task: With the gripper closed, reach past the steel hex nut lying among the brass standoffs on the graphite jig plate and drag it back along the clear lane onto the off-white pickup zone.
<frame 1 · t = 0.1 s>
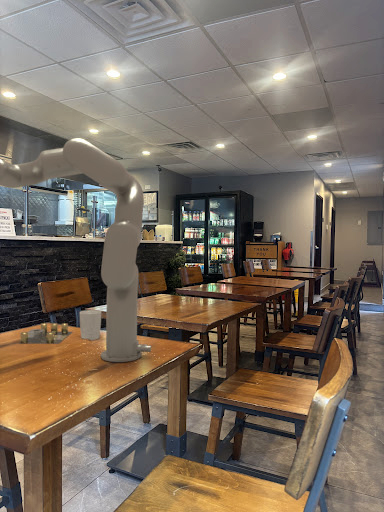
white cup: (90, 338, 139), on the table
steel nut: (36, 337, 137), point 1 cm above the table, touching jig plate
jig plate: (47, 338, 137), on the table
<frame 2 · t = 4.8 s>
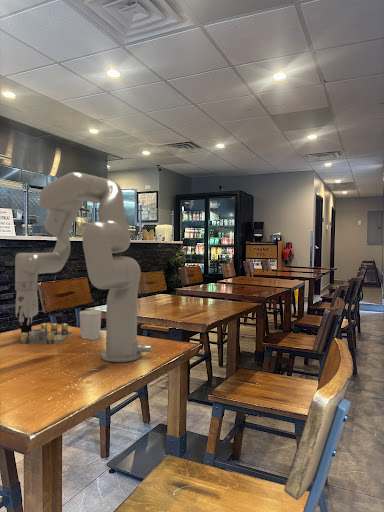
hand: (26, 335, 137), 1 cm above the table, fingers closed
steel nut: (37, 337, 137), point 1 cm above the table, touching gripper, jig plate
everything else where it was.
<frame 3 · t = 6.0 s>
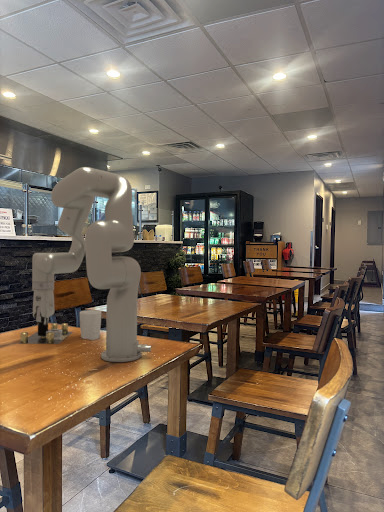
hand: (43, 335, 137), 1 cm above the table, fingers closed
steel nut: (54, 337, 138), point 1 cm above the table, touching gripper
everything else where it was.
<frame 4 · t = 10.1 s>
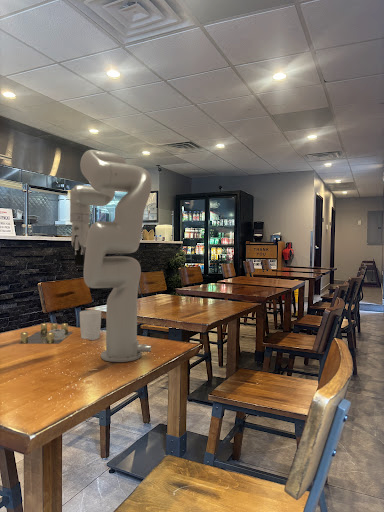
hand: (79, 264, 149), 27 cm above the table, fingers closed
steel nut: (57, 337, 137), point 1 cm above the table, touching jig plate
everything else where it was.
at the end: steel nut inside the target area on the jig plate (0.4 cm from its centre), point 0.6 cm above the jig plate's base; steel nut moved 7.4 cm from its start; steel nut tilted 0° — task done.
